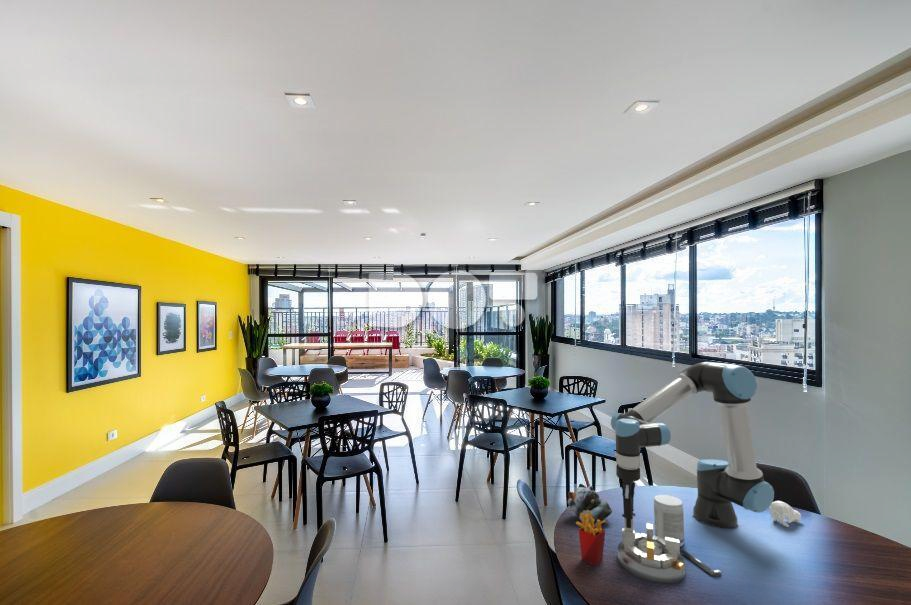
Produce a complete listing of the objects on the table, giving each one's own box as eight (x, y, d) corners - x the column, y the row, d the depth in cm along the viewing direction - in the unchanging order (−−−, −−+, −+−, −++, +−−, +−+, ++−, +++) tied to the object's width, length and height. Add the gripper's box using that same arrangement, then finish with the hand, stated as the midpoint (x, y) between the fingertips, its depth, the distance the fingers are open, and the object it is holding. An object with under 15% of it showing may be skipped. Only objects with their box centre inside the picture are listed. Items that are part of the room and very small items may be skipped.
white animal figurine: (767, 498, 164) (791, 498, 166) (766, 519, 163) (790, 519, 165) (782, 505, 157) (807, 505, 160) (781, 527, 157) (806, 527, 159)
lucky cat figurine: (590, 531, 154) (572, 494, 158) (574, 529, 164) (557, 494, 169) (618, 512, 160) (600, 477, 164) (601, 512, 170) (585, 479, 174)
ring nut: (649, 537, 144) (649, 520, 144) (688, 562, 129) (688, 543, 129) (614, 545, 138) (614, 527, 139) (650, 572, 124) (650, 552, 124)
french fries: (606, 559, 136) (606, 514, 136) (594, 570, 130) (594, 522, 130) (582, 549, 142) (581, 505, 142) (570, 558, 136) (569, 513, 137)
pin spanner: (681, 554, 139) (681, 549, 139) (689, 553, 140) (689, 548, 140) (712, 577, 127) (712, 572, 127) (721, 576, 128) (721, 570, 128)
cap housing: (656, 544, 145) (656, 526, 146) (700, 579, 126) (699, 559, 126) (606, 549, 141) (605, 532, 142) (643, 586, 122) (642, 566, 122)
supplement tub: (689, 543, 146) (688, 501, 147) (675, 551, 141) (674, 508, 141) (663, 531, 154) (662, 492, 155) (649, 538, 149) (648, 498, 150)
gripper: (618, 458, 146) (619, 524, 145) (614, 470, 134) (615, 542, 134) (641, 461, 142) (642, 529, 142) (638, 474, 131) (639, 548, 130)
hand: (629, 535), depth 138 cm, fingers closed
